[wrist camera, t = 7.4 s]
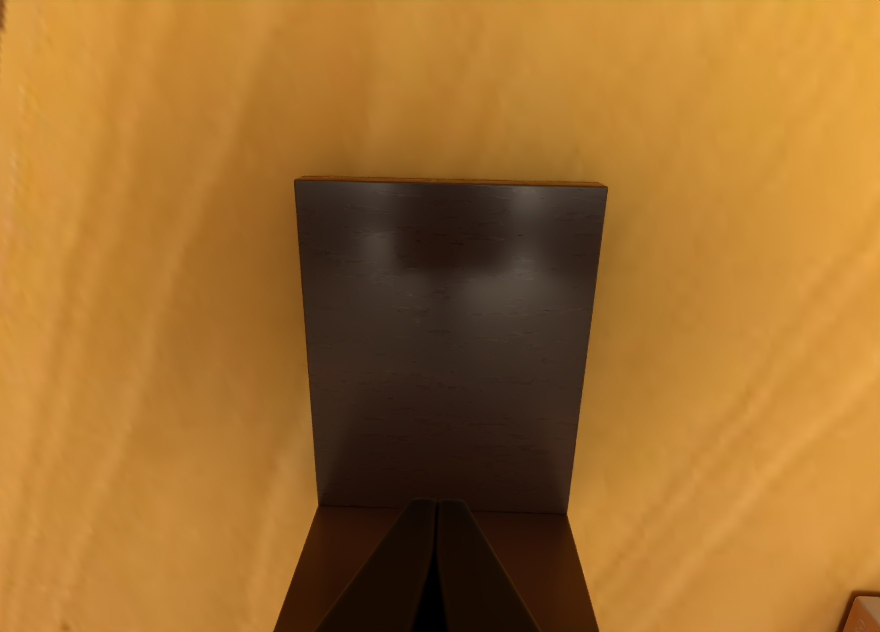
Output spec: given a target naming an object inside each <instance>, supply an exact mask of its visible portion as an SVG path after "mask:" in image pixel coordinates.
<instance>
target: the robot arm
mask: <svg viewBox="0 0 880 632" xmlns="http://www.w3.org/2000/svg"><path fill="white" fill-rule="evenodd" d="M433 625H434V632H542V631H541V629H540V628H539V626H538V624H537V623H536V621H535V619H534V618H533V616H532V614H531V613H530V611H529V609H528V608H527V606H526V604H525V602H524V601H523V599H522V597H521V596H520V594H519V592H518V591H517V589H516V587H515V586H514V584H513V582H512V580H511V579H510V577H509V575H508V574H507V572H506V570H505V569H504V567H503V565H502V564H501V562H500V560H499V558H498V557H497V555H496V553H495V552H494V550H493V548H492V547H491V545H490V543H489V542H488V540H487V538H486V536H485V535H484V533H483V531H482V530H481V528H480V526H479V525H478V523H477V521H476V520H475V518H474V516H473V514H472V513H471V511H470V509H469V508H468V506H467V504H466V503H465V502H464V501H463V500H460V499H440V500H439V501H438V507H437V501H436V500H435V499H433V498H413V499H411V500H410V501H409V502H408V504H407V505H406V506H405V508H404V509H403V510H402V512H401V513H400V514H399V516H398V517H397V518H396V520H395V521H394V523H393V524H392V525H391V527H390V528H389V529H388V531H387V532H386V533H385V535H384V536H383V537H382V539H381V540H380V541H379V543H378V544H377V545H376V547H375V548H374V550H373V551H372V552H371V554H370V555H369V556H368V558H367V559H366V560H365V562H364V563H363V564H362V566H361V567H360V568H359V570H358V571H357V572H356V574H355V575H354V577H353V578H352V579H351V581H350V582H349V583H348V585H347V586H346V587H345V589H344V590H343V591H342V593H341V594H340V595H339V597H338V598H337V600H336V601H335V602H334V604H333V605H332V606H331V608H330V609H329V610H328V612H327V613H326V614H325V616H324V617H323V618H322V620H321V621H320V622H319V624H318V625H317V627H316V628H315V629H314V631H313V632H433Z"/></svg>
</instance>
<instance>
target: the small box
mask: <svg viewBox="0 0 880 632" xmlns="http://www.w3.org/2000/svg"><path fill="white" fill-rule="evenodd" d="M843 632H880V597H870V596H858V597H856V598H855V600H854V602H853V605H852V608H851V611H850V613H849V616H848V619H847V622H846V625H845V627H844V629H843Z"/></svg>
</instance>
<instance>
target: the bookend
mask: <svg viewBox="0 0 880 632" xmlns="http://www.w3.org/2000/svg"><path fill="white" fill-rule="evenodd" d="M294 189H295V202H296V215H297V228H298V242H299V255H300V268H301V282H302V295H303V308H304V322H305V335H306V348H307V361H308V375H309V388H310V401H311V415H312V428H313V441H314V454H315V468H316V481H317V494H318V508H317V510H316V513H315V516H314V519H313V522H312V524H311V527H310V530H309V533H308V536H307V538H306V541H305V544H304V547H303V550H302V552H301V555H300V558H299V561H298V564H297V566H296V569H295V572H294V575H293V578H292V581H291V583H290V586H289V589H288V592H287V595H286V597H285V600H284V603H283V606H282V609H281V611H280V614H279V617H278V620H277V623H276V625H275V628H274V631H273V632H313V631H314V629H315V628H316V627H317V625H318V624H319V622H320V621H321V620H322V618H323V617H324V616H325V614H326V613H327V612H328V610H329V609H330V608H331V606H332V605H333V604H334V602H335V601H336V600H337V598H338V597H339V595H340V594H341V593H342V591H343V590H344V589H345V587H346V586H347V585H348V583H349V582H350V581H351V579H352V578H353V577H354V575H355V574H356V572H357V571H358V570H359V568H360V567H361V566H362V564H363V563H364V562H365V560H366V559H367V558H368V556H369V555H370V554H371V552H372V551H373V550H374V548H375V547H376V545H377V544H378V543H379V541H380V540H381V539H382V537H383V536H384V535H385V533H386V532H387V531H388V529H389V528H390V527H391V525H392V524H393V523H394V521H395V520H396V518H397V517H398V516H399V514H400V513H401V512H402V510H403V509H404V508H405V506H406V505H407V504H408V502H409V501H410V500H411V499H413V498H433V499H435V500H436V501H437V507H438V501H439V500H440V499H460V500H463V501H464V502H465V503H466V504H467V506H468V508H469V509H470V511H471V513H472V514H473V516H474V518H475V520H476V521H477V523H478V525H479V526H480V528H481V530H482V531H483V533H484V535H485V536H486V538H487V540H488V542H489V543H490V545H491V547H492V548H493V550H494V552H495V553H496V555H497V557H498V558H499V560H500V562H501V564H502V565H503V567H504V569H505V570H506V572H507V574H508V575H509V577H510V579H511V580H512V582H513V584H514V586H515V587H516V589H517V591H518V592H519V594H520V596H521V597H522V599H523V601H524V602H525V604H526V606H527V608H528V609H529V611H530V613H531V614H532V616H533V618H534V619H535V621H536V623H537V624H538V626H539V628H540V629H541V631H542V632H599V628H598V625H597V621H596V618H595V614H594V610H593V607H592V603H591V600H590V596H589V592H588V589H587V585H586V581H585V578H584V574H583V571H582V567H581V563H580V560H579V556H578V552H577V549H576V545H575V542H574V538H573V534H572V531H571V527H570V524H569V520H568V516H567V509H568V501H569V494H570V486H571V478H572V470H573V462H574V454H575V446H576V438H577V430H578V422H579V414H580V406H581V398H582V390H583V383H584V375H585V367H586V359H587V351H588V343H589V335H590V327H591V319H592V311H593V303H594V295H595V287H596V279H597V272H598V264H599V256H600V248H601V240H602V232H603V224H604V216H605V208H606V200H607V192H608V187H607V186H605V185H603V184H600V183H598V182H553V181H508V180H464V179H419V178H374V177H330V176H303V177H300V178H298V179H295V180H294ZM433 632H434V625H433Z"/></svg>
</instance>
